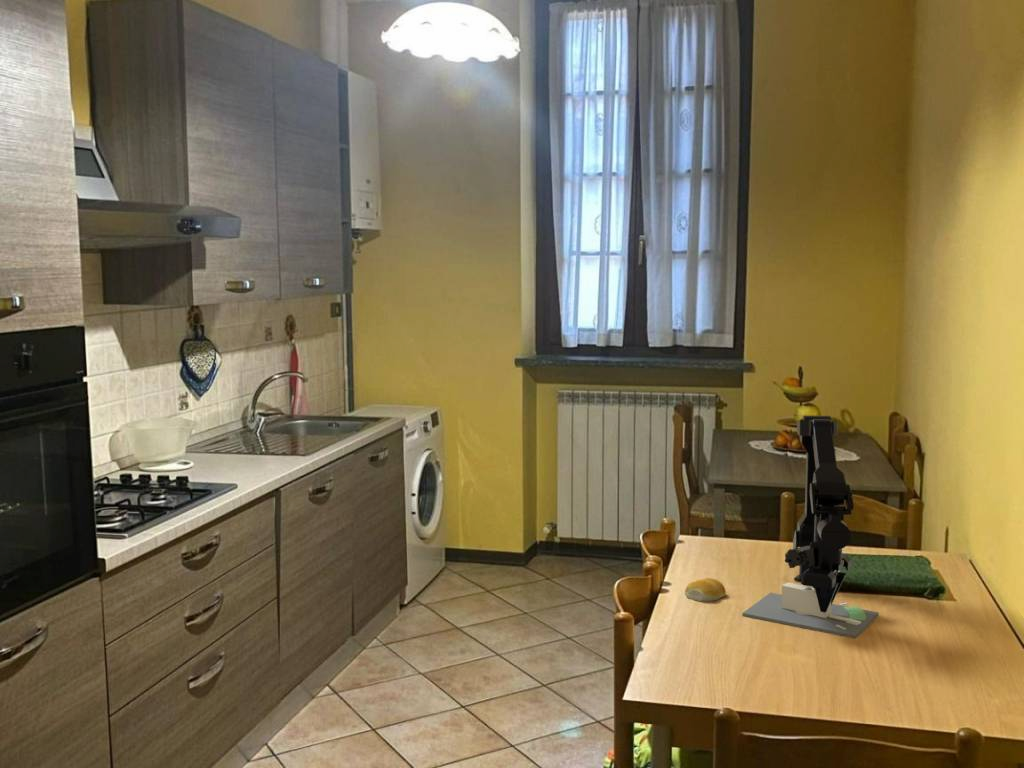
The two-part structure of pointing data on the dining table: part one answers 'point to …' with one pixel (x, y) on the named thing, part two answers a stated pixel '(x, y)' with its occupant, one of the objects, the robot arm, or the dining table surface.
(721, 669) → the dining table surface
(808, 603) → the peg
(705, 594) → the bread roll
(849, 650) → the dining table surface
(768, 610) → the grey board
